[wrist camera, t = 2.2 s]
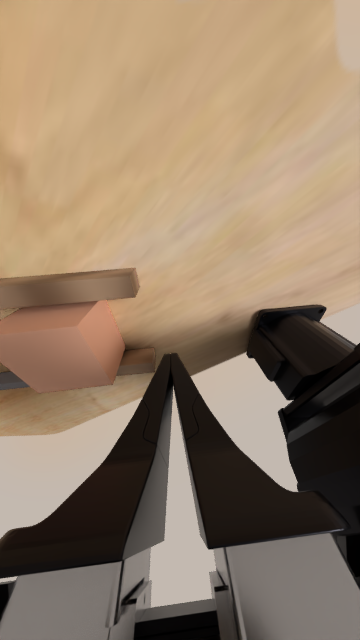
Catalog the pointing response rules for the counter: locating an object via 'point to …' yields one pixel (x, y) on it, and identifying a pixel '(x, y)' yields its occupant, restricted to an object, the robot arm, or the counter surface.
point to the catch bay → (11, 381)
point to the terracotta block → (62, 345)
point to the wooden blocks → (80, 300)
